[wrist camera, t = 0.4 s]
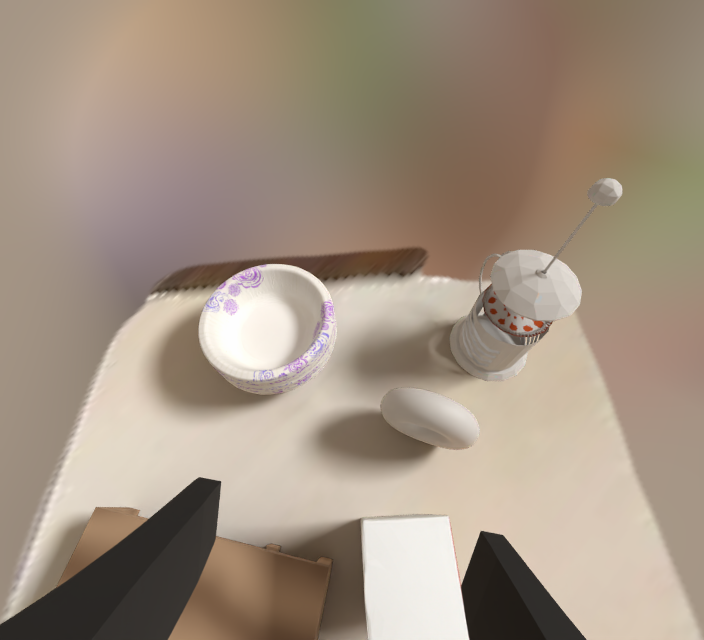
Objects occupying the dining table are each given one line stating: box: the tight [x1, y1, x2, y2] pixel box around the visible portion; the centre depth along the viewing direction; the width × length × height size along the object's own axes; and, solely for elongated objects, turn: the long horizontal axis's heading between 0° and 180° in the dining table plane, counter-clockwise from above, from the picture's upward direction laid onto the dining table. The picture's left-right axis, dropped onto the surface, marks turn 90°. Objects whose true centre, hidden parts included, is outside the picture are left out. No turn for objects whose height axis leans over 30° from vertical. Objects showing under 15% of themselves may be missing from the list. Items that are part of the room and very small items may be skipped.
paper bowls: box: [198, 264, 337, 395], centre depth 41 cm, size 15×15×8 cm
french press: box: [449, 178, 622, 381], centre depth 33 cm, size 10×12×25 cm
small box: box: [361, 514, 469, 640], centre depth 27 cm, size 8×6×13 cm
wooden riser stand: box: [56, 507, 333, 640], centre depth 30 cm, size 9×22×5 cm, turn 78°
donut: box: [380, 387, 480, 450], centre depth 35 cm, size 10×4×10 cm, turn 68°
